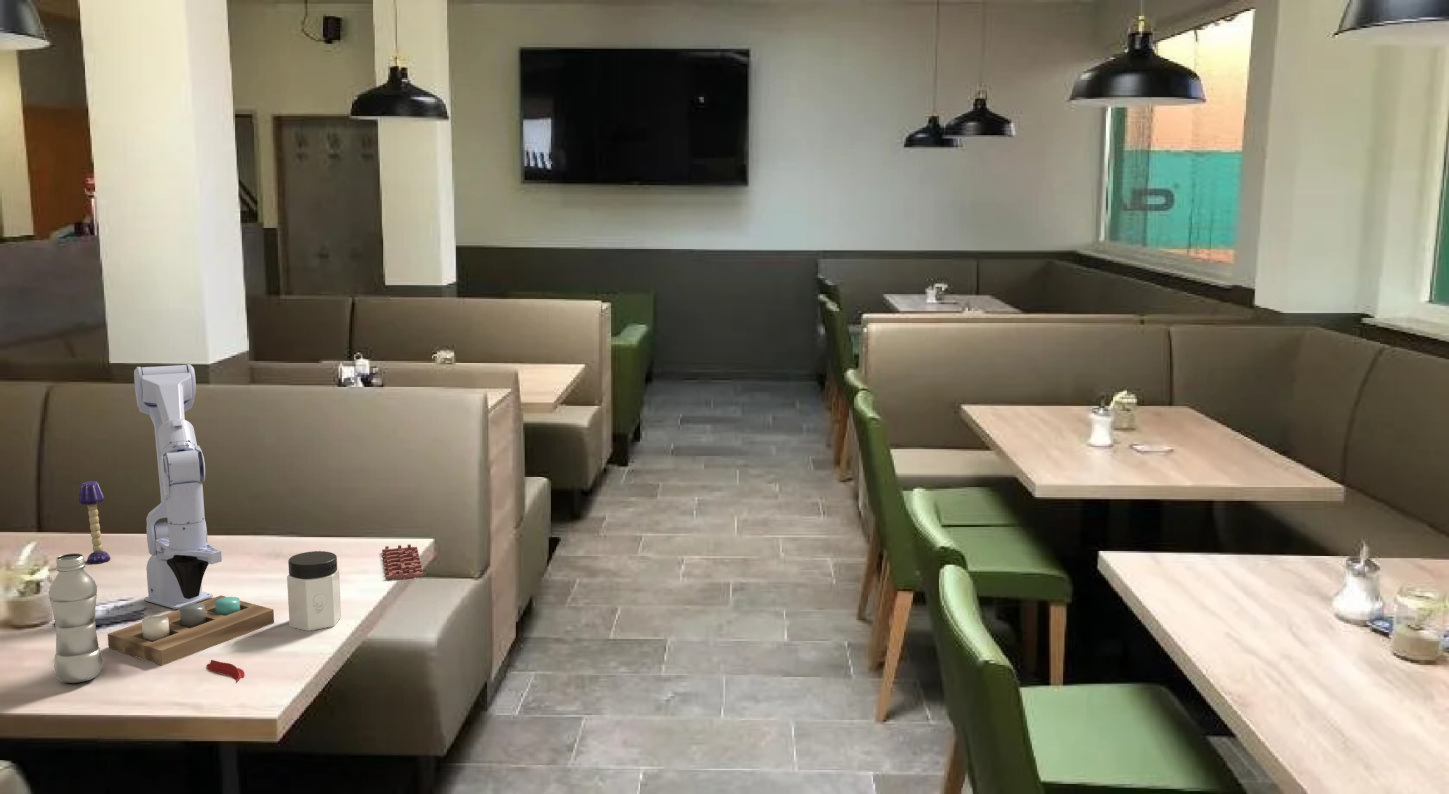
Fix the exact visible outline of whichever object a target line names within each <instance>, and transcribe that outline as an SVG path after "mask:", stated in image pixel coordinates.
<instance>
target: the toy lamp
mask: <svg viewBox="0 0 1449 794" xmlns="http://www.w3.org/2000/svg"><path fill="white" fill-rule="evenodd" d="M78 495H79V496H78V503H79V505H87V509H88V512H87V513H88V516H89V519H88V521H89V524H90V525H89V528H90V531H91V532H90V537H91V538H92V539H91V544H92V552H91V553H90V554H89V555H88V557H87V559H86V562H87V563H88V564H92V565H96V564H97V565H98V564H104V563H107V562H109V561H110V560H111V556H110V554H109V553H108V552H106V551H104V550H103V548H104V547H103V545H102V538H101V536H102V534H101V526H100V523H99V521H100V517H99V510H98V504H99V503H102V502H103V501H105V496H104V493H103V492H102V488H101V486H100V485H99V482H98V481H95V480H90V481H84V482H82V483H81V485H80V489H79V494H78Z"/></svg>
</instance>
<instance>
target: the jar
mask: <svg viewBox="0 0 1449 794" xmlns="http://www.w3.org/2000/svg"><path fill="white" fill-rule="evenodd" d="M287 562H288V563H287V564H288V575H287V576H286V584H287V599H288V601H287V603H288V605H287V606H288V619H289V622H288V625H289V627H291V628H294V629H298V630H302V631H307V632H312V631H317V630H316V629H318V630H321V629H327V627H328V628H332V627H335V626H336V624H337V623H338V621H339V620H340V619H341V618H342V605H341V603H342V602H341V585H340V584H341V583H340V582H341V581H340V580H341V579H340V568H339V567H338V556H337V555H336V553H333V552H330V551H325V550H318V551H317V550H316V551H315V550H314V551H313V550H311V551H306V552H300V553H296V554H294V555H293V556H291V557H289V558H288V561H287ZM311 630H312V631H311Z"/></svg>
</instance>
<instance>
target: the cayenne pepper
mask: <svg viewBox="0 0 1449 794" xmlns="http://www.w3.org/2000/svg"><path fill="white" fill-rule="evenodd" d="M206 668H207V669H208V670H209V671H212V672H214V673H218V674H220V675H221V674H222V675H225V676H229V677H231V678H232V679H234V680H236V682H235V684H237V683H239V681H240V680H241V679H244V678H245V675H246V674H245V671H244V670H243V669H241V667H240V668H239V667H237V666H236V665H235V664H232V663H230V662H229V663H228V662H221V661H219V660H218V661H217V660H214V659H211V660H210V662H209V663H207V664H206Z"/></svg>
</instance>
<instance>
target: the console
mask: <svg viewBox="0 0 1449 794" xmlns="http://www.w3.org/2000/svg"><path fill="white" fill-rule="evenodd" d="M224 597H226V596H225V595H221V594H220V595H218V596H215V597H211V598H208V599H205V600H202V601H200V602H199V603H200V604H204V605H205V616H206V622H205V623H204V624H201V625H198V626H195V627H183V626H181V625H180V612H179V609H175V610H174V611H171V612H168V613H165V614H162V615H160V616H166V617H168V620H169V636H168V637H165V638H162V639H159V640H151V641H150V640H144V639H143V632H142V621H141V622H138V623H136V624H133V625H129V626H126V627H123V628H121V629H117V630H115V631H112V632H111V631H110V632H108V633H107V643H108V649H111V650H114V651H118V652H119V653H123V654H126V655H129V656H131V657H132V656H133V657H135V658H139V659H142V660H145V661H148V662H151V663H154V664H157V665H161V666H164V665H168V664H169V663H173V662H175V661H177V660H180V659H182V658H185V657H189V656H191V655H194V654H196V653H199V652H202V651H203V650H206V649H208V648H212V647H214V646H217V645H220V644H223V643H225V642H228V641H230V640H233V639H235V638H238V637H241V636H244V635H246V634H248V633H251V632H254V631H256V630H259V629H262V628H264V627H267V626H269V625H272V624H275V614H274V609H273V608H269V607H266V606H262V605H259V604H255V603H251V602H247V601H243V600H240V611H237V612H235V613H232V614H229V615H226V616H224V615H220V614H217V613H216V610H215V601H216V600H218V599H220V598H224Z"/></svg>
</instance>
